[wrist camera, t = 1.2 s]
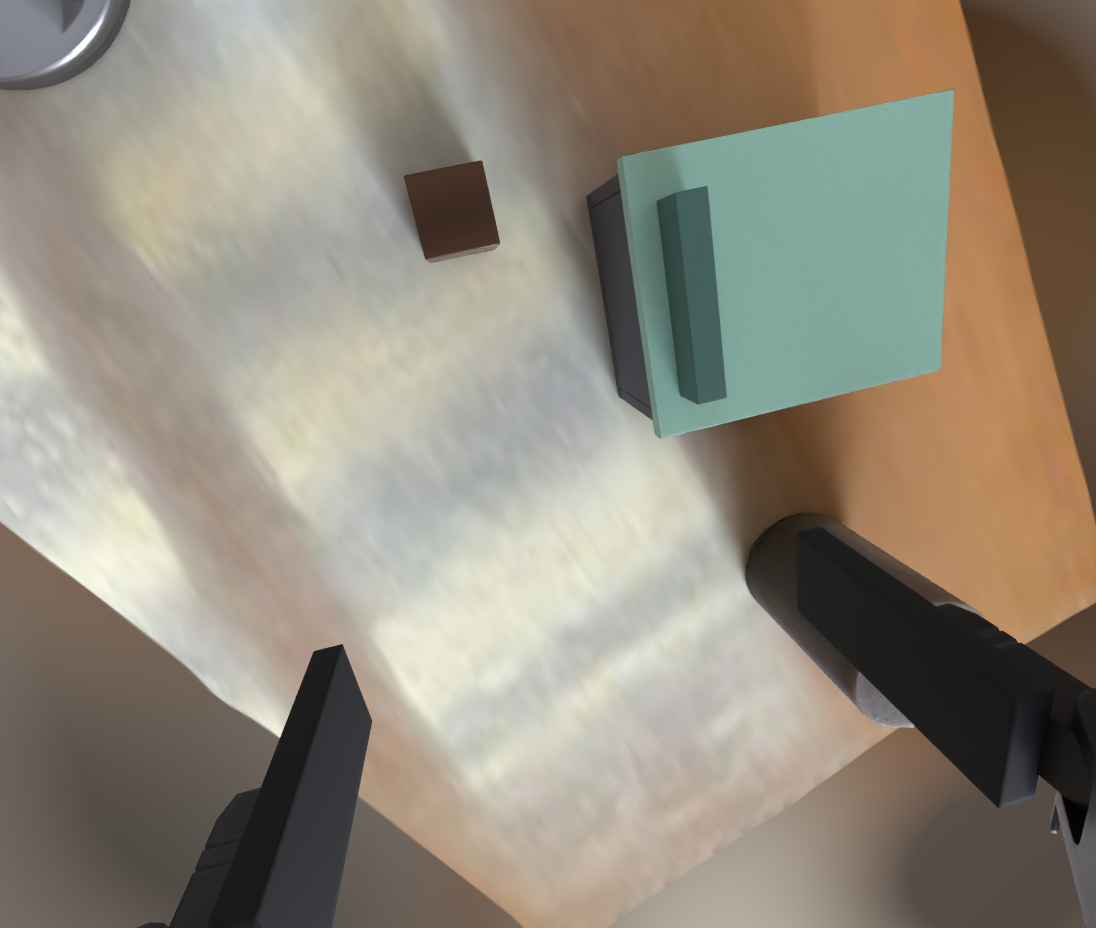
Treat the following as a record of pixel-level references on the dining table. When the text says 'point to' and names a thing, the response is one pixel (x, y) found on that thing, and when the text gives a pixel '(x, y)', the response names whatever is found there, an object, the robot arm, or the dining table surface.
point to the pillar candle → (778, 597)
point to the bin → (619, 294)
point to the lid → (790, 260)
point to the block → (453, 211)
